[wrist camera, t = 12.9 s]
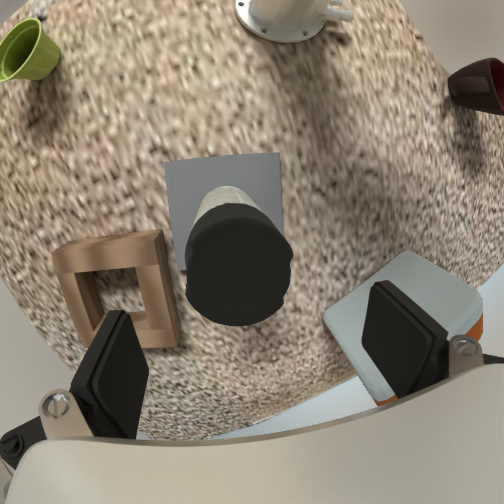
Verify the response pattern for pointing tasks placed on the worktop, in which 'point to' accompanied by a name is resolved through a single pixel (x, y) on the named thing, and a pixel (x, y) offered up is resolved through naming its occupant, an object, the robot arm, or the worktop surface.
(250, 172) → the slate coaster
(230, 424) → the worktop surface
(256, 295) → the spray can
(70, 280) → the walnut collar
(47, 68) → the plant pot
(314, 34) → the robot arm
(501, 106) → the cup
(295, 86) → the worktop surface
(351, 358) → the alarm clock
